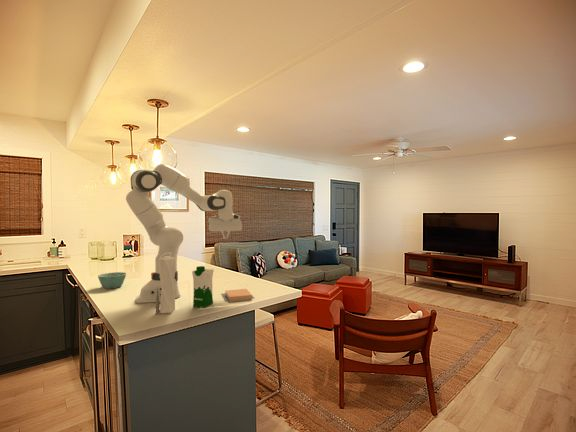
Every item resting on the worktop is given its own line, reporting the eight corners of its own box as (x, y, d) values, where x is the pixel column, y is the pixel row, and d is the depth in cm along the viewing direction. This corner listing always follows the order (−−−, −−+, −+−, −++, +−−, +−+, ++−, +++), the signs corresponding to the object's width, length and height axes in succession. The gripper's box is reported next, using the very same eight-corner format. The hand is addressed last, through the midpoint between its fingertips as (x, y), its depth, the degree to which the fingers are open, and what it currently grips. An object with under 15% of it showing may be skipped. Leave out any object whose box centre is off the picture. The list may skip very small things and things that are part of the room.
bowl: (105, 284, 197) (105, 272, 197) (130, 283, 199) (130, 271, 198) (92, 290, 181) (92, 277, 181) (120, 290, 183) (119, 276, 183)
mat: (225, 302, 156) (225, 301, 156) (220, 294, 171) (220, 293, 171) (254, 299, 162) (254, 298, 162) (248, 292, 177) (248, 291, 177)
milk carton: (190, 307, 149) (190, 267, 148) (201, 302, 157) (201, 264, 157) (205, 309, 146) (205, 268, 146) (215, 303, 154) (215, 265, 154)
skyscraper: (161, 309, 147) (161, 252, 146) (178, 309, 147) (177, 252, 147) (154, 315, 138) (154, 254, 138) (172, 314, 139) (172, 254, 139)
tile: (225, 295, 169) (229, 301, 156) (225, 290, 169) (229, 297, 156) (246, 292, 173) (251, 299, 160) (246, 288, 173) (251, 294, 160)
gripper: (208, 216, 179) (208, 239, 179) (242, 216, 186) (242, 238, 186) (207, 216, 185) (207, 238, 185) (240, 216, 192) (240, 237, 192)
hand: (225, 238), depth 186 cm, fingers closed
